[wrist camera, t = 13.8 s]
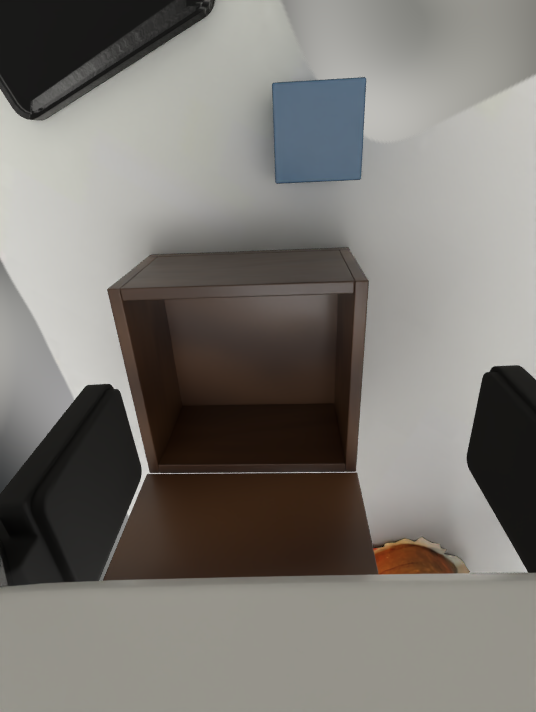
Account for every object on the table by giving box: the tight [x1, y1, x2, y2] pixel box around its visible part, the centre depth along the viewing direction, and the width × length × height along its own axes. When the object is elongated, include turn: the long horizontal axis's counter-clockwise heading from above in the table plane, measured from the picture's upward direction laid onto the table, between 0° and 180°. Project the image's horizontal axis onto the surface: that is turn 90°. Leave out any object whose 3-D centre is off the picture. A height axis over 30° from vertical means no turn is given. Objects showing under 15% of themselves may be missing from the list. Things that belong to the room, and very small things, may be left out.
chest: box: [107, 247, 369, 473], centre depth 31 cm, size 15×16×9 cm
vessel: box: [373, 537, 470, 575], centre depth 39 cm, size 14×14×20 cm
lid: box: [103, 473, 379, 581], centre depth 25 cm, size 16×16×6 cm
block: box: [272, 77, 366, 184], centre depth 25 cm, size 5×5×6 cm
